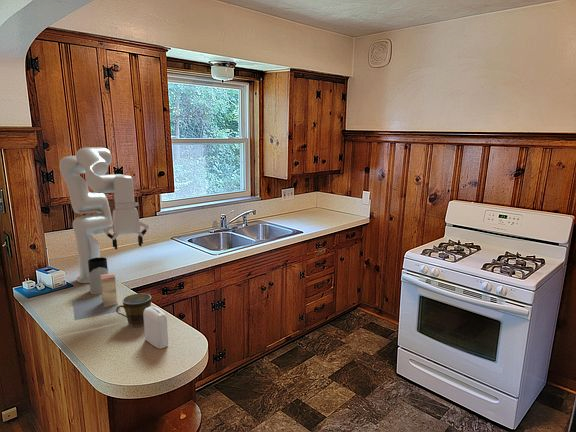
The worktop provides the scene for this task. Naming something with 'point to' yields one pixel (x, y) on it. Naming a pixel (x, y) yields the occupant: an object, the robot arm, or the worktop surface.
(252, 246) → the worktop surface
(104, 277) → the maple block
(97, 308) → the rubber mat
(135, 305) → the ceramic cup
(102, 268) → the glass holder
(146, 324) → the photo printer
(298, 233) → the worktop surface
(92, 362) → the worktop surface
